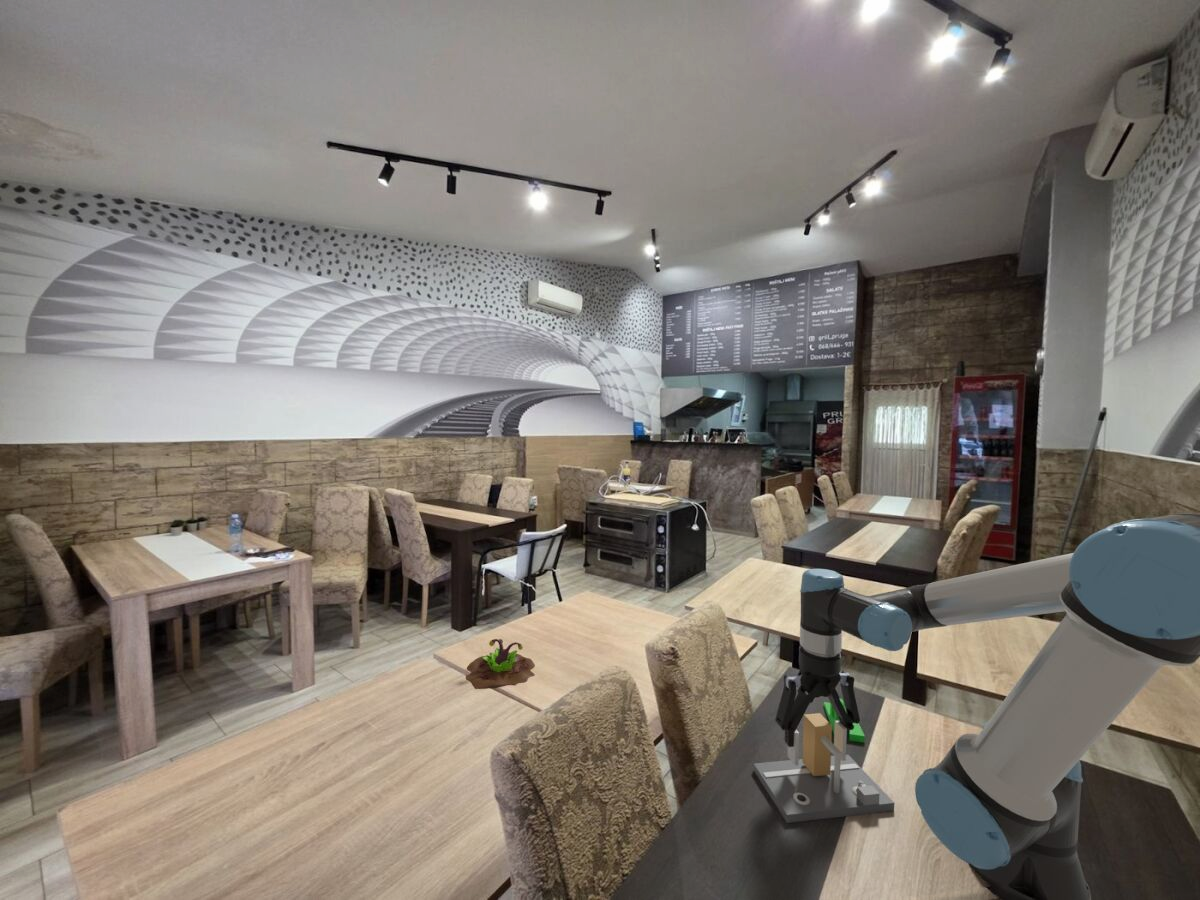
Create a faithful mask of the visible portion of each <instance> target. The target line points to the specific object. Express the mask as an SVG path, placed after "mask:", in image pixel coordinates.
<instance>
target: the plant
mask: <svg viewBox="0 0 1200 900" xmlns="http://www.w3.org/2000/svg"><path fill="white" fill-rule="evenodd" d="M496 642H497V643H498V645H499V646H498V647H497V648H495V650H494V653H493V652H489V655H488V654H486V655H482V656H479V657H477V658H475V659H474V660H472V662H470V663H468V665H467V666H466V671H467V672H470V674H466V675H465V680H466V681H468V682H470V683H471V684H472V686H473V687H474V689H475V690H485V689H489V688H490V689H491V688H493V689H494V688H496V689H497V688H501V687H506V686H517V685H518V684H521V683H522V684H523V683H527V682H528V680H529V679H530V678H532V677H534V676H535V673H534V672H533V671H531V670H533V669H534V668H535V667H536V665H535V663H534V661H533V660H532V658H529V657H525V656H523V655H522V654H518V650H519V651H522V650H523V645H522V643H519V642H517V641H515V642H513V643H512V642H511V643H510V644H509V645H508V646H507V647H506V648H504V644H503V642H504V640H503V639H502V638H500V639H497V638H494V639H491V640H490V641H489V643H488V644H489V647H492V646H495V643H496ZM515 645H517V648H518V650H512V651H511V652H510V649H512V647H513V646H515Z"/></svg>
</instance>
